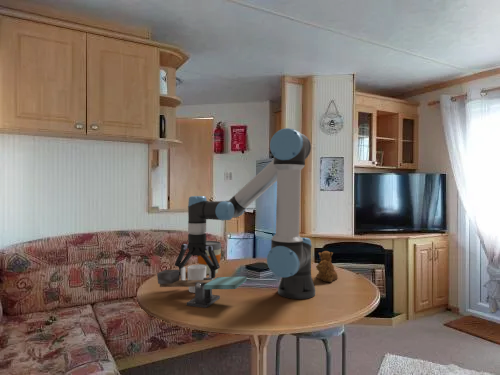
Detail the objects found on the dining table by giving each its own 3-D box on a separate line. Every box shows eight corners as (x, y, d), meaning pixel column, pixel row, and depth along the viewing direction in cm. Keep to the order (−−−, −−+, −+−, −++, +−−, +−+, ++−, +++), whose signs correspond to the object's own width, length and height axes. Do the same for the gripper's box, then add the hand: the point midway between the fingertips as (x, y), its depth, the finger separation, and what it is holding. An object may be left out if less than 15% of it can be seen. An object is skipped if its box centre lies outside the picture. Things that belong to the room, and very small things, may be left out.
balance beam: (246, 280, 135) (245, 266, 136) (235, 289, 124) (233, 273, 124) (170, 281, 146) (169, 268, 146) (153, 289, 134) (152, 275, 135)
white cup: (202, 294, 144) (202, 269, 144) (184, 292, 146) (184, 268, 146) (208, 288, 152) (209, 265, 152) (191, 287, 153) (191, 264, 153)
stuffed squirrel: (337, 277, 173) (338, 249, 173) (337, 284, 159) (337, 255, 159) (316, 275, 176) (317, 248, 176) (314, 283, 162) (314, 254, 162)
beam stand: (219, 298, 139) (219, 277, 139) (206, 307, 127) (206, 285, 127) (201, 296, 141) (201, 275, 141) (186, 305, 130) (186, 283, 130)
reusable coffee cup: (200, 269, 188) (200, 240, 188) (223, 269, 186) (223, 241, 186) (193, 274, 176) (193, 244, 176) (218, 275, 174) (218, 245, 174)
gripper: (227, 233, 148) (227, 285, 148) (175, 230, 156) (175, 279, 156) (220, 235, 141) (220, 289, 141) (166, 232, 149) (166, 284, 149)
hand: (196, 284), depth 149 cm, fingers open, 12 cm apart
